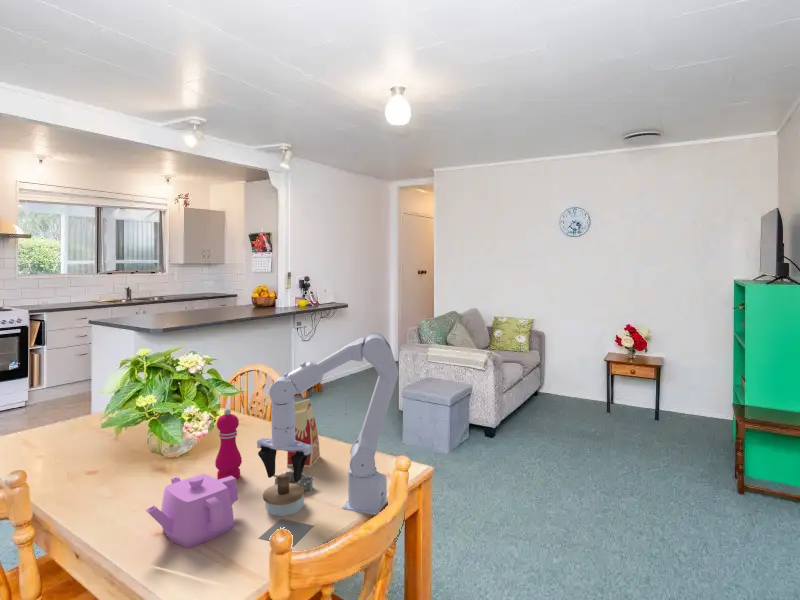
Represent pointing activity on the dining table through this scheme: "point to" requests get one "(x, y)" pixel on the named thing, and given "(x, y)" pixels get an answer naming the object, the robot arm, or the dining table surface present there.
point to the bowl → (285, 508)
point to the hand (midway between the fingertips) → (284, 478)
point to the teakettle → (196, 509)
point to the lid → (283, 492)
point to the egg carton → (304, 480)
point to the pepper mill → (228, 447)
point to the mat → (294, 527)
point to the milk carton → (305, 432)
